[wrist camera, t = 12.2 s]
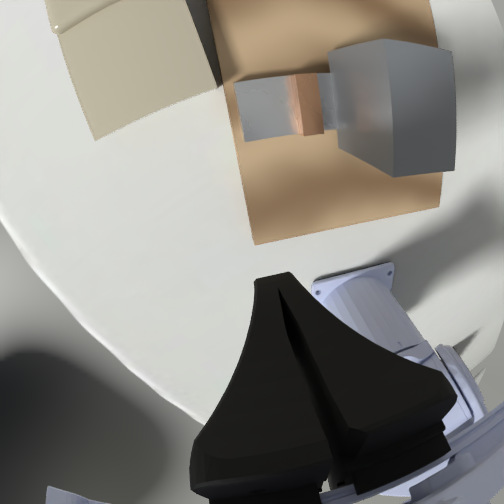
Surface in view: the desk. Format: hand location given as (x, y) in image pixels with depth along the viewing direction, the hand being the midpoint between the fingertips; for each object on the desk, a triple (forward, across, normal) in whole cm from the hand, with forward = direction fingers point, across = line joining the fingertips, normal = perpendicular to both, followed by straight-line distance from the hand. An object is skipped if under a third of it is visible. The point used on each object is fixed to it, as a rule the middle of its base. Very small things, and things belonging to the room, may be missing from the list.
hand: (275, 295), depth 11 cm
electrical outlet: (+10, +5, -16) cm, 20 cm away
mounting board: (+10, -8, -6) cm, 14 cm away
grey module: (+8, -8, -6) cm, 13 cm away
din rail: (+9, -8, -6) cm, 13 cm away
